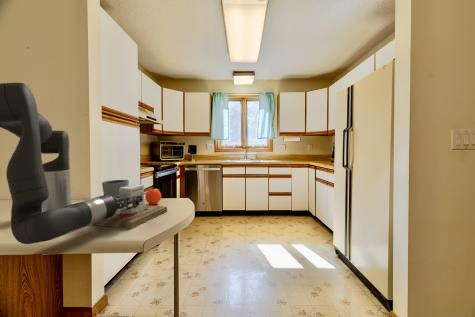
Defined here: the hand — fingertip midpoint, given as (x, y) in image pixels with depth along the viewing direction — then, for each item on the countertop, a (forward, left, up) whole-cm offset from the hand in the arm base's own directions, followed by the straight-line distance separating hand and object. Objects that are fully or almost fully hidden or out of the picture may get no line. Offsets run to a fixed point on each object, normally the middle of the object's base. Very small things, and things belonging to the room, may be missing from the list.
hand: (133, 197), depth 91 cm
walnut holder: (0, -1, -7) cm, 7 cm away
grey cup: (-15, +7, -7) cm, 18 cm away
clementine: (-5, +19, -8) cm, 21 cm away
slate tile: (-15, -15, -7) cm, 22 cm away
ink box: (0, -1, -8) cm, 8 cm away
